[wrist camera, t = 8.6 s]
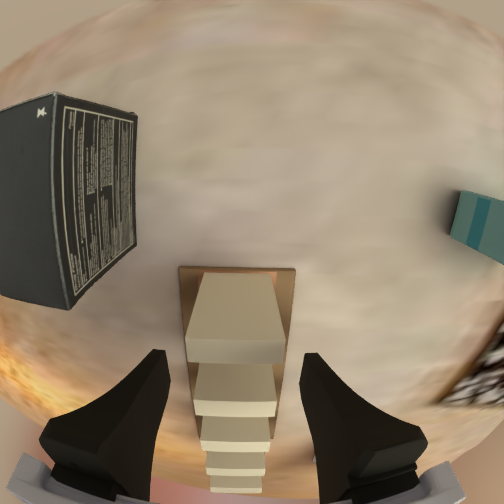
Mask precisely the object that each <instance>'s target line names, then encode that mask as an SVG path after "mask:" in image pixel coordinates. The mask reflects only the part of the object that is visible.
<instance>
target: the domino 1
mask: <svg viewBox="0 0 504 504" xmlns="http://www.w3.org/2000/svg"><path fill="white" fill-rule="evenodd" d="M285 342H286V339H285V335H284V330H283V326H282V322H281V317H280V313H279V309H278V305H277V300H276V296H275V292H274V288H273V283H272V279H271V275H270V274H261V273H208V272H204V275H203V278H202V282H201V285H200V288H199V292H198V295H197V298H196V302H195V305H194V308H193V312H192V315H191V319H190V322H189V326H188V329H187V333H186V336H185V343H186V351H187V359H188V362H197V363H219V364H283V358H284V350H285Z"/></svg>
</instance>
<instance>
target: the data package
mask: <svg viewBox="0 0 504 504" xmlns="http://www.w3.org/2000/svg"><path fill="white" fill-rule="evenodd" d="M450 236H451V237H452V238H454V239H456V240H458V241H460V242H462V243H464V244H466V245H468V246H469V247H471V248H473V249H475V250H477V251H479V252H481V253H483V254H485V255H487V256H488V257H490V258H492V259H494V260H496V261H497V262H499V263H501V264H503V265H504V201H501V200H498V199H495V198H491V197H488V196H484V195H480V194H477V193H473V192H469V191H461V194H460V198H459V202H458V206H457V210H456V214H455V218H454V221H453V225H452V229H451V232H450Z"/></svg>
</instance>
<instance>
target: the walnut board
mask: <svg viewBox="0 0 504 504" xmlns="http://www.w3.org/2000/svg"><path fill="white" fill-rule="evenodd" d="M204 272H208V273H261V274H270V275H271V279H272V283H273V288H274V292H275V296H276V300H277V305H278V309H279V313H280V317H281V322H282V326H283V330H284V335H285V339H286V342H285V350H284V358H283V364H272V369H273V376H274V384H275V391H276V398H277V405H276V411H275V417H268V421H269V431H270V439H273V437H274V431H275V425H276V419H277V413H278V407H279V401H280V394H281V388H282V381H283V374H284V367H285V360H286V352H287V345H288V337H289V329H290V321H291V313H292V304H293V295H294V285H295V276H296V270H295V269H285V268H234V267H196V266H180V267H179V278H180V292H181V305H182V316H183V327H184V336H186V333H187V329H188V326H189V322H190V319H191V315H192V312H193V308H194V305H195V302H196V298H197V295H198V292H199V288H200V285H201V282H202V278H203V275H204ZM185 345H186V343H185ZM186 354H187V351H186ZM187 362H188V359H187ZM198 369H199V363H197V362H188V370H189V378H190V385H191V392H192V398H194V392H195V386H196V381H197V375H198ZM193 405H194V401H193ZM194 411H195V407H194ZM195 417H196V423H197V428H198V434H199V438H200V437H201V429H202V420H203V416H201V415H196V414H195Z"/></svg>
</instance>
